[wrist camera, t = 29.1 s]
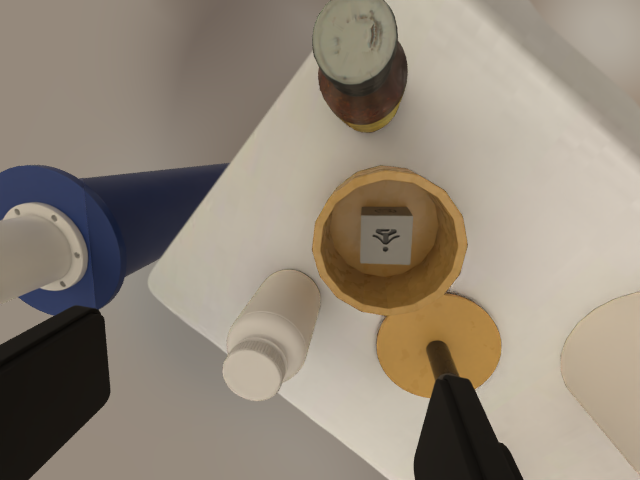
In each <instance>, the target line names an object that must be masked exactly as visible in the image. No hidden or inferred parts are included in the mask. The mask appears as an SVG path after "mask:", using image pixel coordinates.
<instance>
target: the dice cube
mask: <svg viewBox="0 0 640 480" xmlns="http://www.w3.org/2000/svg"><path fill="white" fill-rule="evenodd" d="M412 229H413V215H412V213H411V212H410V210H409V209H408V207H362V211H361V247H360V263H369V264H401V265H410V260H411V245H412Z"/></svg>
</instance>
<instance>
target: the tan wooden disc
mask: <svg viewBox="0 0 640 480" xmlns="http://www.w3.org/2000/svg"><path fill="white" fill-rule="evenodd" d="M377 355H378V359H379V362H380V364H381V366H382V368H383V370H384V372H385V373H386V374H387V376H388V377H389V378H390V379H391V380H392V381H393V382H394V383H395V384H396V385H398V386H399V387H401V388H402V389H404V390H406V391H408V392H410V393H412V394H415V395H418V396H422V397H427V398H431V394H432V391H433V387H434V383H435V381H436V379H441V380H442V379H443V377H444V375H451V376H456V377H462V378H467V379H469V380H470V381H471V383H472V385H473V387H474V389H476V388H477V387H479V386H480V385H482V384H483V383H484V382H485V381H486V380H487V379H488V378H489V377H490V376H491V375H492V373H493V372H494V370H495V368H496V367H497V364H498V362H499V359H500V355H501V339H500V334H499V331H498V329H497V327H496V325H495V323H494V322H493V320H492V319H491V317H490V316H489V315H488V314H487V312H486V311H484V310H483V309H482V308H481V307H480V306H478V305H477V304H476V303H474V302H472V301H470V300H468V299H466V298H463V297H461V296H457V295H453V294H447V293H445V294H444V295H443V296H442V297H441V298H439V299H437V300H435V301H434V302H432V303H430V304H428V305H427V306H425V307H423V308H422V309H420V310H418V311H415V312H410V313H404V314H398V315H392V316H386V318H385V319H384V321H383V322H382V324H381V327H380V329H379V332H378V335H377Z"/></svg>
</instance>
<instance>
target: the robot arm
mask: <svg viewBox="0 0 640 480" xmlns="http://www.w3.org/2000/svg"><path fill="white" fill-rule="evenodd" d="M87 265H88V251H87V247H86V243H85V241H84V238H83V236H82V234H81V232H80V231H79V229H78V227H77V226H76V225H75V224H74V222H73V221H72V220H71V219H70V218H69V217H68V216H67V215H66V214H64V213H63V212H61V211H60V210H59V209H57V208H55V207H53V206H51V205H48V204H44V203H39V202H31V203H24V204H20V205H17V206H15V207H13V208H12V209H10V210H9V211H8V212H7V214H6V215H5V217H4V219H3V220H0V304H3V303H5V302H7V301H10V300H12V299H15V298H17V297H19V296H22V295H24V294H26V293H29V292H31V291H33V290H36V289H38V288H41V289H45V290H51V291H58V290H63V289H66V288H69V287H71V286H73V285H75V284H76V283H78V282H79V281H80V280H81V279H82V277H83V276H84V274H85V272H86V269H87ZM106 345H107V344H106V334H105V321H104V317H103V316H102V315H101V313H100V312H99V310H98V309H95V308H90V307H85V306H79V305H75V306H72V307H70V308H68V309H66V310H64V311H62V312H60V313H59V314H57V315H55V316H53V317H51V318H49V319H47V320H46V321H44V322H42V323H40V324H38V325H36V326H34V327H33V328H31V329H29V330H27V331H25V332H23V333H21V334H20V335H18V336H16V337H14V338H12V339H10V340H8V341H7V342H5V343H3V344H1V345H0V480H29V479H30V478H31V477H32V476H33V475H34V474H35V473H36V472H37V471H38V470H39V469H40V468H41V467H42V466H43V465H44V464H45V463H46V462H47V461H48V460H49V459H50V458H51V457H52V456H53V455H54V454H55V453H56V452H57V451H58V450H59V449H60V448H61V447H62V446H63V445H64V444H65V443H66V442H67V441H68V440H69V439H70V438H71V437H72V436H73V435H74V434H75V433H76V432H77V431H78V430H79V429H80V428H81V427H83V426H84V425H85V423H87V422H88V421H89V419H91V418H92V417H93V415H95V414H96V413H97V412H98V411H99V410H100V409H101V408H102V407H103V406H104V404H105V403H106V402H107V400H108V398H109V396H110V381H109V369H108V356H107V346H106ZM414 476H415V480H523V477H522V475H521V473H520V471H519V469H518V467H517V465H516V463H515V461H514V459H513V457H512V455H511V453H510V451H509V450H508V448H507V447H506V446H505V445H504V444H503V443H499V442H498V440H497V438H496V435H495V433H494V431H493V429H492V427H491V424H490V422H489V420H488V418H487V416H486V414H485V411H484V409H483V407H482V405H481V403H480V400H479V398H478V396H477V394H476V392H475V390H474V387H473V385H472V383H471V381H470V380H469V379H467V378H462V377H456V376H451V375H444V377H443V379H442V380H441V379H436V381H435V383H434V387H433V391H432V394H431V398H430V402H429V405H428V409H427V413H426V416H425V420H424V424H423V427H422V431H421V435H420V438H419V442H418V446H417V449H416V453H415V457H414Z"/></svg>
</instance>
